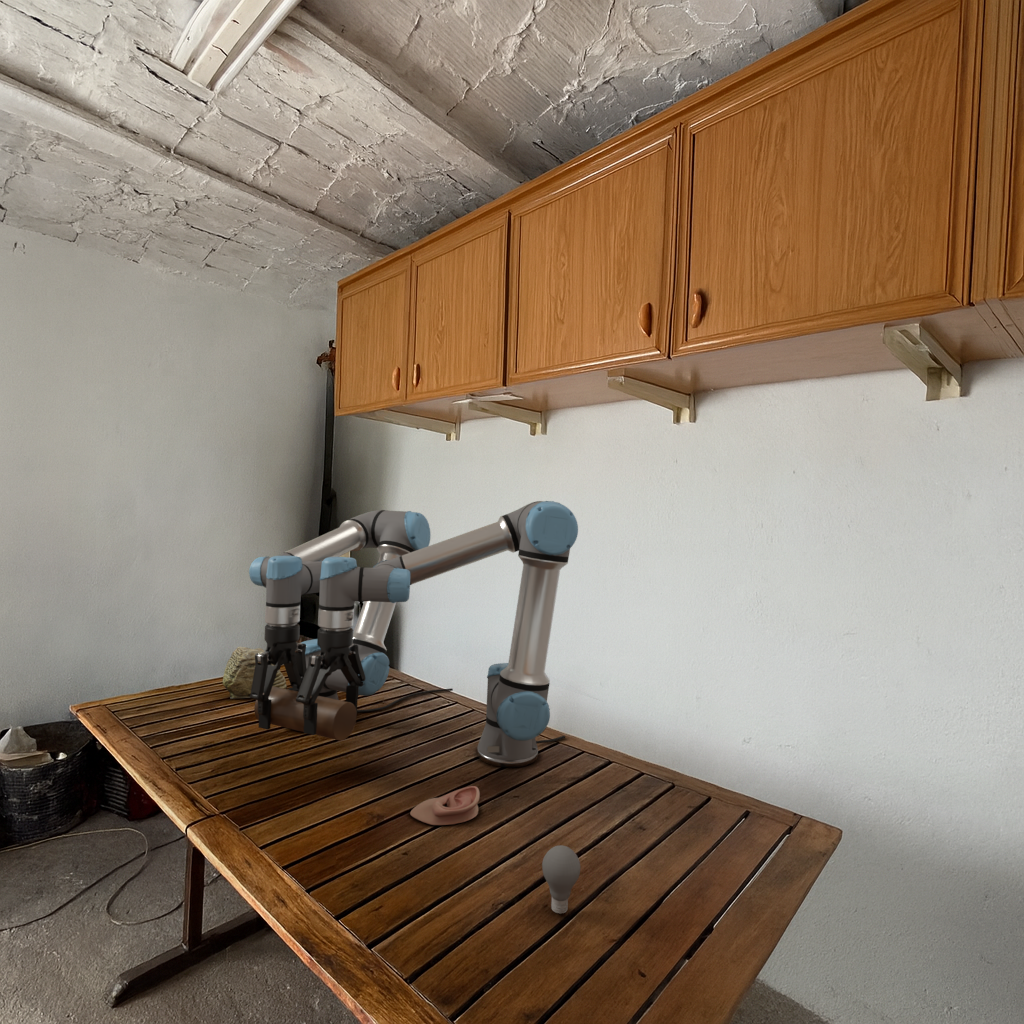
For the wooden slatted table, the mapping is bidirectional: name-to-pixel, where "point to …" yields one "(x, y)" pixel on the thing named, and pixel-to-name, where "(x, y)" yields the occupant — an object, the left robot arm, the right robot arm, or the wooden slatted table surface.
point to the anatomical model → (449, 807)
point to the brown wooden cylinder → (331, 714)
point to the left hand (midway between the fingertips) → (278, 721)
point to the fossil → (245, 673)
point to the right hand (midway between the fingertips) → (331, 723)
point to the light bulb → (560, 875)
